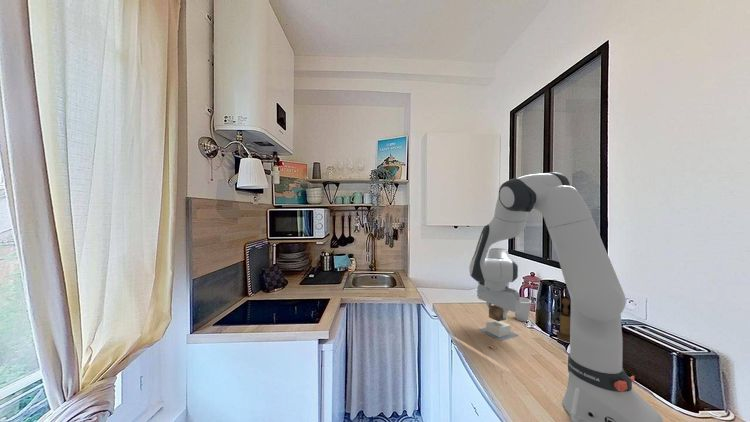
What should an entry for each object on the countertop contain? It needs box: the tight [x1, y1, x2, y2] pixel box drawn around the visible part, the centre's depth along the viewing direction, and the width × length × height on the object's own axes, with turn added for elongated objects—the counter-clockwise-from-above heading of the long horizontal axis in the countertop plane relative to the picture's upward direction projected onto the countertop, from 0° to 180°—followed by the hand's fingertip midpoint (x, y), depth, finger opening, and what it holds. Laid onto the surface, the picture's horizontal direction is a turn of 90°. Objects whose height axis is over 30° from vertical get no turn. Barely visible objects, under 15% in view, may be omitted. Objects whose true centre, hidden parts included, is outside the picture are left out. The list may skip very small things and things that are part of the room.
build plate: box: [477, 327, 520, 342], centre depth 120 cm, size 12×12×1 cm
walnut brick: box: [488, 304, 507, 322], centre depth 120 cm, size 5×5×5 cm
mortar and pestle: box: [556, 297, 571, 343], centre depth 115 cm, size 7×6×18 cm
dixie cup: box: [514, 297, 532, 322], centre depth 137 cm, size 8×8×10 cm
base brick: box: [485, 319, 511, 337], centre depth 120 cm, size 7×7×4 cm
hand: (497, 315), depth 120 cm, fingers closed on walnut brick, 5 cm apart
